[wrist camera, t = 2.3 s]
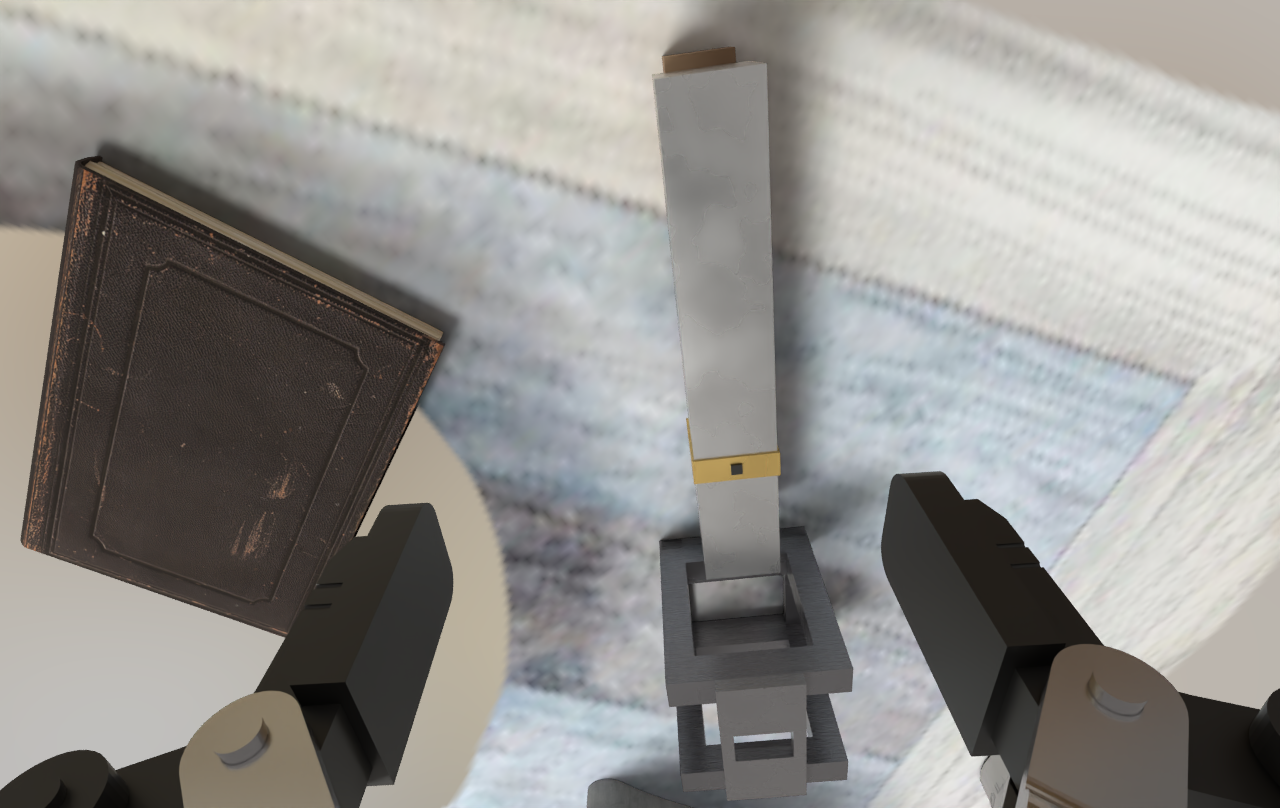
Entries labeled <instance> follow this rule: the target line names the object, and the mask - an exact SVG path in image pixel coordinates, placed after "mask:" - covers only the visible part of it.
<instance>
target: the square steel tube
mask: <svg viewBox="0 0 1280 808" xmlns="http://www.w3.org/2000/svg"><path fill="white" fill-rule="evenodd" d="M652 80H653V89H654V99H655V108H656V118H657V127H658V137H659V146H660V155H661V165H662V174H663V184H664V193H665V203H666V212H667V222H668V231H669V241H670V250H671V259H672V269H673V278H674V288H675V297H676V307H677V316H678V326H679V335H680V345H681V354H682V363H683V373H684V382H685V392H686V401H687V411H688V418H686V421H687V430H688V439H689V447H690V455H691V463H692V470H693V478H694V484H695V486H696V496H697V505H698V515H699V524H700V533H701V541H702V549H703V556H704V564H705V572H706V580H708V579H719V578H729V577H739V576H750V575H760V574H771V573H780V535H779V498H778V475H781V471H780V451H779V448H778V445H777V423H776V386H775V348H774V311H773V273H772V236H771V199H770V161H769V124H768V86H767V63H762V62H756V61H743V62H736V63H729V64H722V65H715V66H708V67H701V68H695V69H688V70H681V71H674V72H667V73H660V74H653V75H652Z"/></svg>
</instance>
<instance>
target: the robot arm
mask: <svg viewBox="0 0 1280 808" xmlns="http://www.w3.org/2000/svg"><path fill="white" fill-rule="evenodd" d="M881 553H882V561H883V566H884V570H885V573H886V576H887V578H888V581H889V583H890V585H891V587H892V589H893V591H894V593H895V596H896V598H897V600H898V602H899V604H900V606H901V608H902V610H903V613H904V615H905V617H906V619H907V621H908V623H909V625H910V627H911V630H912V632H913V634H914V636H915V638H916V640H917V642H918V644H919V647H920V649H921V651H922V653H923V655H924V657H925V659H926V661H927V664H928V666H929V668H930V670H931V672H932V674H933V676H934V678H935V681H936V683H937V685H938V687H939V689H940V691H941V693H942V695H943V698H944V700H945V702H946V704H947V706H948V708H949V710H950V712H951V715H952V717H953V719H954V721H955V723H956V725H957V727H958V729H959V732H960V734H961V736H962V738H963V740H964V742H965V744H966V746H967V749H968V751H969V753H970V755H971V756H989V755H991V756H990V757H989V758H988V760H987V761H986V762H985V764H984V765H983V767H982V770H981V772H980V781H981V783H982V786H983V788H984V790H985V792H986V795H987V797H988V799H989V801H990V805H991V807H992V808H1280V689H1278V690H1276V691H1275V692H1273V693H1272V694H1271V696H1270V697H1269V698H1268V700H1267V701H1266V702H1265V704H1264V705H1263V707H1262V708H1261V710H1260V709H1255V708H1250V707H1245V706H1241V705H1235V704H1231V703H1226V702H1221V701H1216V700H1212V699H1207V698H1202V697H1197V696H1192V695H1188V694H1185V693H1181V692H1178V691H1177V690H1176V689H1175V688H1174V686H1173V685H1172V684H1171V683H1170V682H1169V681H1168V680H1167V679H1166V678H1165V677H1164V676H1163V675H1161V674H1160V673H1159V672H1158V671H1156V670H1155V669H1154V668H1152V667H1151V666H1149V665H1148V664H1146V663H1145V662H1143V661H1141V660H1140V659H1138V658H1136V657H1134V656H1132V655H1130V654H1127V653H1125V652H1123V651H1120V650H1117V649H1114V648H1111V647H1106V646H1104V645H1103V644H1102V643H1101V641H1100V640H1099V639H1098V637H1097V636H1096V635H1095V633H1094V632H1093V631H1092V630H1091V628H1090V627H1089V626H1088V624H1087V623H1086V622H1085V620H1084V619H1083V618H1082V617H1081V615H1080V614H1079V613H1078V611H1077V610H1076V609H1075V608H1074V606H1073V605H1072V604H1071V602H1070V601H1069V600H1068V598H1067V597H1066V596H1065V595H1064V593H1063V592H1062V591H1061V589H1060V588H1059V587H1058V586H1057V584H1056V583H1055V582H1054V580H1053V579H1052V578H1051V576H1050V575H1049V574H1048V573H1047V571H1046V570H1045V569H1044V567H1043V568H1041V567H1040V564H1039V563H1040V562H1039V561H1038V560H1037V558H1036V557H1035V556H1034V554H1033V553H1032V552H1031V551H1030V549H1029V548H1028V547H1025V546H1024V541H1023V540H1022V539H1021V538H1020V536H1019V535H1018V534H1017V532H1016V531H1015V530H1014V528H1013V527H1012V526H1011V525H1010V523H1009V522H1008V521H1007V519H1006V518H1004V517H1003V516H1001V515H1000V514H998V513H997V512H996V511H994V510H993V509H991V508H990V507H988V506H987V505H985V504H984V503H983V502H981V501H980V500H978V499H971V500H964V499H963V498H962V496H961V495H960V493H959V492H958V491H957V489H956V488H955V486H954V485H953V484H952V482H951V481H950V479H949V478H948V477H947V476H946V474H944V473H943V472H940V471H937V472H921V473H906V474H896V475H895V476H894V477H893V478H892V481H891V485H890V490H889V497H888V503H887V509H886V515H885V522H884V528H883V534H882V541H881ZM452 594H453V572H452V566H451V563H450V559H449V556H448V552H447V549H446V546H445V542H444V539H443V536H442V532H441V529H440V526H439V522H438V519H437V516H436V512H435V510H434V508H433V506H432V505H431V504H430V503H417V504H402V505H387V506H385V507H383V509H381V511H380V513H379V515H378V517H377V518H376V520H375V522H374V525H373V526H372V528H371V530H370V532H369V534H368V536H362V537H354V538H353V539H352V540H351V541H350V542H348V543H347V544H346V545H345V546H344V547H343V548H342V549H341V550H340V551H339V552H338V553H337V554H335V555H334V556H333V557H332V558H331V559H330V561H329V562H328V564H327V566H326V568H325V569H324V571H323V573H322V575H321V576H320V578H319V580H318V582H317V584H316V589H313V591H312V592H311V594H310V596H309V598H308V599H307V601H306V603H305V605H304V606H305V609H304V610H301V612H300V613H299V615H298V617H297V619H296V620H295V622H294V624H293V626H292V627H291V629H290V631H289V633H288V635H287V636H286V638H285V640H284V642H283V643H282V645H281V647H280V649H279V650H278V652H277V654H276V656H275V657H274V659H273V661H272V663H271V665H270V666H269V668H268V670H267V672H266V673H265V675H264V677H263V679H262V680H261V682H260V684H259V686H258V687H257V689H256V691H255V692H254V693H253V694H250V695H248V696H245V697H243V698H240V699H238V700H236V701H234V702H232V703H230V704H229V705H227V706H225V707H224V708H222V709H221V710H219V711H218V712H217V713H216V714H214V715H213V716H212V717H211V718H209V719H208V720H207V721H206V722H205V723H204V724H203V725H202V726H201V727H200V728H199V730H197V732H196V733H195V734H194V736H193V737H192V738H191V740H190V741H189V743H188V745H187V746H185V747H182V748H180V749H177V750H174V751H171V752H168V753H165V754H162V755H159V756H156V757H153V758H150V759H147V760H144V761H141V762H138V763H136V764H132V765H130V766H127V767H124V768H121V769H118V770H115V769H114V768H113V767H112V766H111V765H110V763H109V762H108V761H107V760H106V759H105V758H104V757H103V756H102V755H101V754H100V753H97V752H95V751H90V750H77V751H71V752H67V753H63V754H60V755H57V756H55V757H52V758H50V759H47V760H45V761H43V762H41V763H39V764H38V765H35V766H34V767H32V768H30V769H29V770H27V771H25V772H24V773H22V774H21V775H19V776H18V777H16V778H15V779H14V780H12V781H11V782H10V783H9V784H7V785H6V786H5V787H4V788H2V789H1V790H0V808H359V806H360V803H361V800H362V797H363V795H364V792H365V789H366V786H377V785H394V782H395V779H396V776H397V772H398V769H399V766H400V763H401V760H402V757H403V753H404V750H405V747H406V744H407V741H408V737H409V734H410V731H411V728H412V725H413V721H414V718H415V715H416V712H417V709H418V706H419V702H420V699H421V696H422V693H423V689H424V687H425V683H426V680H427V677H428V674H429V671H430V667H431V664H432V661H433V658H434V655H435V651H436V648H437V645H438V642H439V639H440V635H441V632H442V629H443V626H444V623H445V620H446V617H447V613H448V610H449V607H450V603H451V600H452Z"/></svg>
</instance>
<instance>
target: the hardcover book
mask: <svg viewBox="0 0 1280 808" xmlns="http://www.w3.org/2000/svg"><path fill="white" fill-rule="evenodd" d="M442 334H443V332H442V331H440V330H438V329H436V328H434V327H432V326H430V325H428V324H426V323H424V322H422V321H420V320H418V319H416V318H414V317H412V316H410V315H408V314H406V313H404V312H402V311H400V310H398V309H396V308H394V307H392V306H390V305H388V304H386V303H384V302H382V301H380V300H378V299H376V298H374V297H372V296H370V295H368V294H366V293H364V292H362V291H360V290H358V289H356V288H354V287H352V286H350V285H348V284H346V283H344V282H342V281H340V280H338V279H336V278H334V277H332V276H330V275H328V274H326V273H324V272H322V271H320V270H318V269H315V268H313V267H311V266H309V265H307V264H305V263H303V262H301V261H299V260H297V259H295V258H293V257H291V256H289V255H287V254H285V253H283V252H281V251H279V250H277V249H275V248H273V247H271V246H269V245H267V244H265V243H263V242H261V241H259V240H257V239H255V238H253V237H251V236H249V235H247V234H245V233H243V232H241V231H239V230H237V229H235V228H233V227H231V226H229V225H227V224H225V223H223V222H221V221H219V220H217V219H215V218H213V217H211V216H209V215H207V214H205V213H203V212H201V211H199V210H197V209H195V208H193V207H191V206H189V205H187V204H185V203H183V202H181V201H179V200H177V199H175V198H173V197H171V196H169V195H167V194H165V193H163V192H161V191H159V190H157V189H155V188H153V187H151V186H149V185H147V184H145V183H143V182H141V181H139V180H137V179H135V178H133V177H131V176H129V175H127V174H125V173H123V172H121V171H119V170H117V169H114V168H112V167H110V166H108V165H106V164H104V163H102V157H100V156H95V157H87V158H84V159H81V160H78V161H76V162H75V167H74V174H73V181H72V188H71V195H70V202H69V209H68V216H67V223H66V230H65V236H64V244H63V251H62V258H61V264H60V272H59V278H58V285H57V293H56V299H55V306H54V312H53V319H52V326H51V333H50V340H49V347H48V354H47V361H46V368H45V375H44V382H43V389H42V395H41V402H40V409H39V416H38V423H37V430H36V437H35V444H34V451H33V458H32V465H31V472H30V478H29V485H28V493H27V499H26V506H25V513H24V520H23V527H22V533H21V543H22V545H23V546H24V547H26V548H28V549H31V550H34V551H37V552H40V553H43V554H46V555H49V556H51V557H55V558H57V559H60V560H63V561H66V562H69V563H72V564H75V565H77V566H80V567H83V568H86V569H89V570H92V571H95V572H98V573H101V574H103V575H106V576H110V577H112V578H115V579H118V580H121V581H124V582H126V583H129V584H132V585H135V586H138V587H141V588H144V589H147V590H150V591H153V592H155V593H158V594H161V595H164V596H167V597H170V598H172V599H175V600H178V601H181V602H184V603H187V604H190V605H193V606H196V607H198V608H201V609H204V610H207V611H210V612H213V613H216V614H219V615H221V616H224V617H227V618H231V619H233V620H236V621H239V622H242V623H245V624H247V625H250V626H254V627H256V628H259V629H262V630H265V631H268V632H270V633H273V634H276V635H279V636H282V637H285V638H286V636H287V635H288V633H289V631H290V629H291V627H292V626H293V624H294V622H295V620H296V619H297V617H298V615H299V613H300V612H301V610H304V609H305V606H304V605H305V603H306V601H307V599H308V598H309V596H310V594H311V592H312V591H313V589H316V584H317V582H318V580H319V578H320V576H321V575H322V573H323V571H324V569H325V568H326V566H327V564H328V562H329V561H330V559H331V558H332V557H333V556H334V555H335V554H337V553H338V552H339V551H340V550H341V549H342V548H343V547H344V546H345V545H346V544H347V543H348V542H350V541H351V540H352V539H353V538H354V537H356V535H357V533H358V531H359V529H360V527H361V524H362V522H363V520H364V518H365V516H366V514H367V512H368V510H369V508H370V506H371V503H372V501H373V499H374V497H375V495H376V493H377V490H378V489H379V487H380V485H381V483H382V480H383V478H384V476H385V474H386V472H387V470H388V468H389V466H390V464H391V462H392V459H393V457H394V455H395V453H396V451H397V449H398V447H399V445H400V443H401V441H402V439H403V436H404V434H405V432H406V430H407V428H408V426H409V424H410V422H411V420H412V418H413V416H414V414H415V411H416V409H417V407H416V404H417V402H418V400H419V398H420V396H421V394H422V391H423V389H424V387H425V385H426V383H427V381H428V379H429V377H430V375H431V373H432V370H433V368H434V366H435V364H436V362H437V360H438V358H439V356H440V354H441V352H442V349H443V347H444V345H445V344H444V343H442V342H440V339H441V337H442Z"/></svg>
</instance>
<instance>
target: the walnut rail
mask: <svg viewBox="0 0 1280 808" xmlns="http://www.w3.org/2000/svg"><path fill="white" fill-rule="evenodd" d="M662 61H663V71H664V73H667V72H674V71H681V70H688V69H695V68H701V67H708V66H715V65H722V64H729V63H736V55H735V47H724V48H717V49H710V50H703V51H696V52H689V53H682V54H676V55H669V56H662Z"/></svg>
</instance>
